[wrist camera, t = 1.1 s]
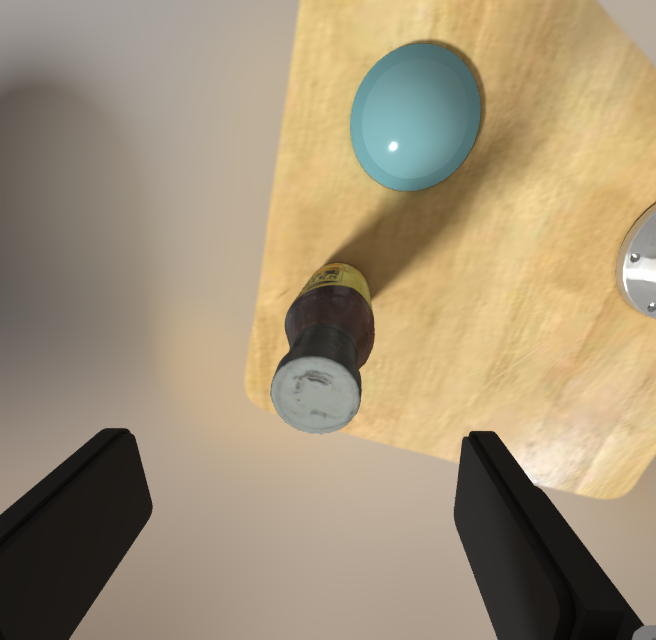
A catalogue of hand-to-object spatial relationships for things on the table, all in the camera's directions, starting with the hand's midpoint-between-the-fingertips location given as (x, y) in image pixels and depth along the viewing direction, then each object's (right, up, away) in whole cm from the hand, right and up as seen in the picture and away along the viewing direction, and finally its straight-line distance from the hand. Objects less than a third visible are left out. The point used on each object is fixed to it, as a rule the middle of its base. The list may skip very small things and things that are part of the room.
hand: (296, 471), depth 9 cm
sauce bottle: (+2, +7, +23) cm, 25 cm away
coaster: (+8, +22, +18) cm, 30 cm away
